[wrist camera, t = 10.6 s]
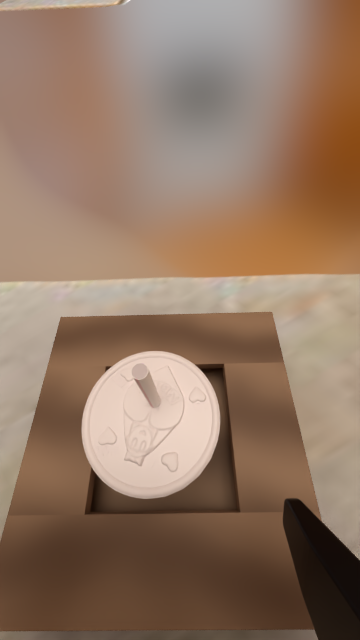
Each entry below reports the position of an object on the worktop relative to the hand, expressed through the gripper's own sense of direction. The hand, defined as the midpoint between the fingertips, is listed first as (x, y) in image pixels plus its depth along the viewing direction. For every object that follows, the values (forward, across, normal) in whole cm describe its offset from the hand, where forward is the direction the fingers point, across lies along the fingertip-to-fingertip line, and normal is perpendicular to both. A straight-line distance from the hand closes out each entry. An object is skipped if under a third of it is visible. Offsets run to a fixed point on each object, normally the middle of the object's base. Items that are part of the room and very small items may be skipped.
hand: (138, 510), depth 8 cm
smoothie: (+11, 0, +6) cm, 13 cm away
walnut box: (+11, 0, +6) cm, 13 cm away
